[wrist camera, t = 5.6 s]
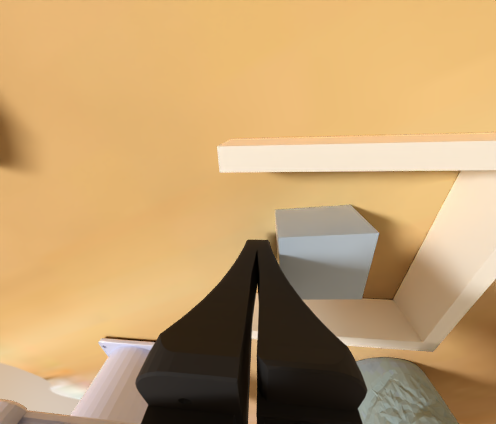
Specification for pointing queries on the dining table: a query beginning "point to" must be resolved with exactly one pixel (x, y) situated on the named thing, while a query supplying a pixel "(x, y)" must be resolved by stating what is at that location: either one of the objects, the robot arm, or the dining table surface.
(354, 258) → the frosted grey cube
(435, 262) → the cream u-shaped frame
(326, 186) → the dining table surface
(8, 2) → the dining table surface
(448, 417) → the green embossed cup
